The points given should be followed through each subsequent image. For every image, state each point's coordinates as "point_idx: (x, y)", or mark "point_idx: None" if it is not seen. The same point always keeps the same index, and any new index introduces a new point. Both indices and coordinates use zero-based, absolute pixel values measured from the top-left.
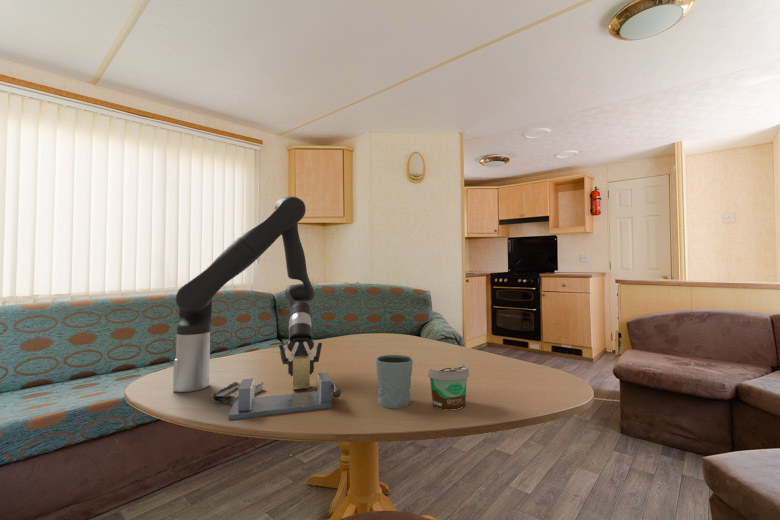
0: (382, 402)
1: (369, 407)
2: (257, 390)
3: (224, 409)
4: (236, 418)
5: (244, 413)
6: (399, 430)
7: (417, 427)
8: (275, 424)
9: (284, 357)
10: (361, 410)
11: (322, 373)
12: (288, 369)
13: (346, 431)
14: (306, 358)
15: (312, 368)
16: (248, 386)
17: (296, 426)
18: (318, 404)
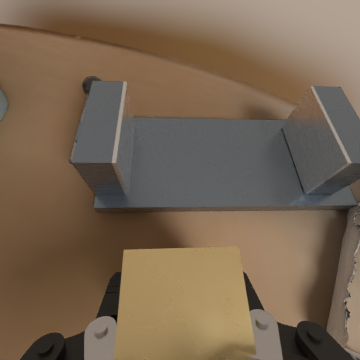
0: (2, 92)
1: (35, 106)
2: (335, 305)
3: None
4: None
5: None
6: (43, 36)
7: (13, 35)
8: (221, 93)
9: (319, 339)
10: (59, 99)
11: (97, 152)
12: (247, 278)
13: (115, 51)
14: (148, 250)
15: (117, 280)
16: (324, 96)
17: (186, 79)
18: (140, 118)
